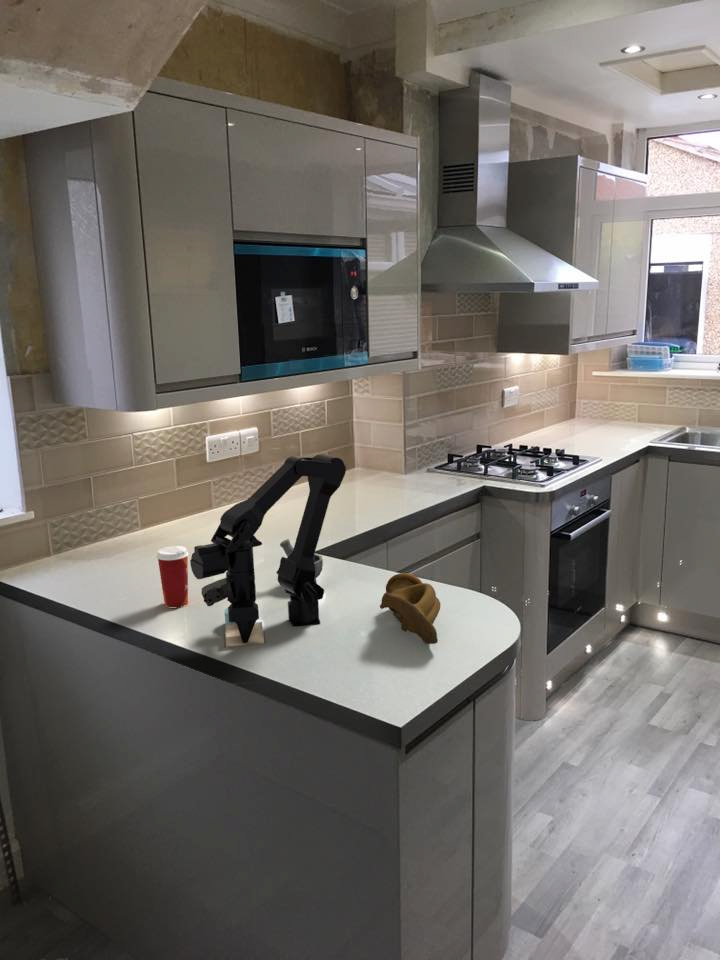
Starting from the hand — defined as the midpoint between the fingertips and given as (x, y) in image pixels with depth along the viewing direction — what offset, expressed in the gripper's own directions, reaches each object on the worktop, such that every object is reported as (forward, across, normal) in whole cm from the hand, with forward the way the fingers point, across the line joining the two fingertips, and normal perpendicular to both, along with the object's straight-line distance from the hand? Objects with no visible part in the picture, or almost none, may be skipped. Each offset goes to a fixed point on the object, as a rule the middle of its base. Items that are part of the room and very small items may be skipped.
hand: (244, 636), depth 171 cm
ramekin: (+1, -8, -1) cm, 9 cm away
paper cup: (+1, -26, -16) cm, 30 cm away
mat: (+1, 0, 0) cm, 1 cm away
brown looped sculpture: (+1, +2, +37) cm, 37 cm away
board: (+1, 0, 0) cm, 1 cm away
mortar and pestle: (+1, -32, +16) cm, 36 cm away
